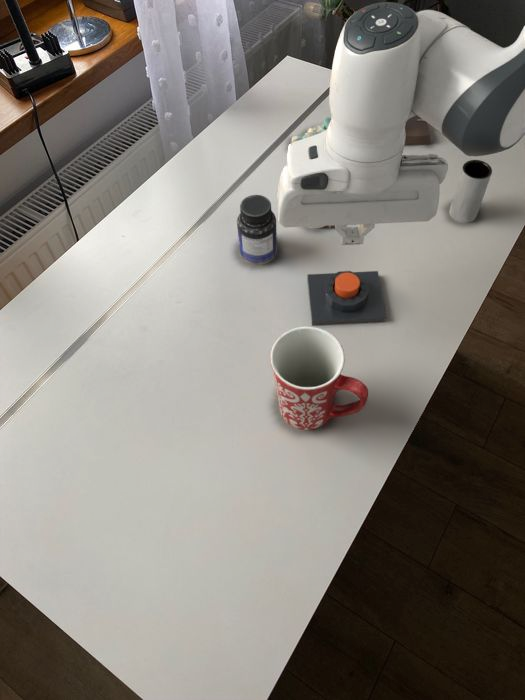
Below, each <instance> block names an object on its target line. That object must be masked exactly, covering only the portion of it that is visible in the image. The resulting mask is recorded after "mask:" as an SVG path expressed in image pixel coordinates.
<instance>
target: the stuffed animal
mask: <svg viewBox="0 0 525 700" xmlns="http://www.w3.org/2000/svg"><path fill="white" fill-rule="evenodd" d="M330 121H331V117H330V116H325V117H323V122H321V123H318V124H315V125H313V126H312V127H309V128H308V129H307V130H306V132H305V133H304V134H303V135H294V136H292V137H291V143H293V142H295V141H298V140H301V139H304V138H307V137H310V136H313V135H316V134H319V133H321V132H324V131H326V130H327V129H328V126H329V123H330Z"/></svg>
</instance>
